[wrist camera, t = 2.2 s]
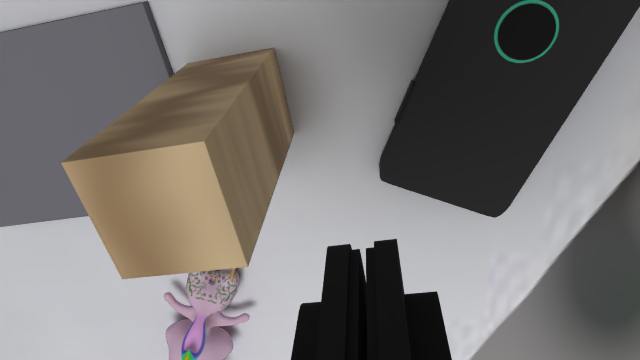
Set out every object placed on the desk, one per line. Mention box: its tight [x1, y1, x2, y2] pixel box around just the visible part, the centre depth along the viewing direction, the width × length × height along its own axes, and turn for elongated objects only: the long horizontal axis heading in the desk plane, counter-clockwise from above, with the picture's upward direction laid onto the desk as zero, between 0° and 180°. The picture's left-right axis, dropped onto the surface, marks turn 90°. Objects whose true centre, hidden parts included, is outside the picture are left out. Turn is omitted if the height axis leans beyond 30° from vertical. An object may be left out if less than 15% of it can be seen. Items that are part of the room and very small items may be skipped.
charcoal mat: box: [0, 1, 173, 227], centre depth 28 cm, size 16×12×1 cm
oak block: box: [61, 48, 294, 279], centre depth 21 cm, size 5×5×12 cm
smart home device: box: [379, 0, 640, 217], centre depth 22 cm, size 8×2×20 cm
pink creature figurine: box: [164, 268, 249, 360], centre depth 33 cm, size 6×6×15 cm
